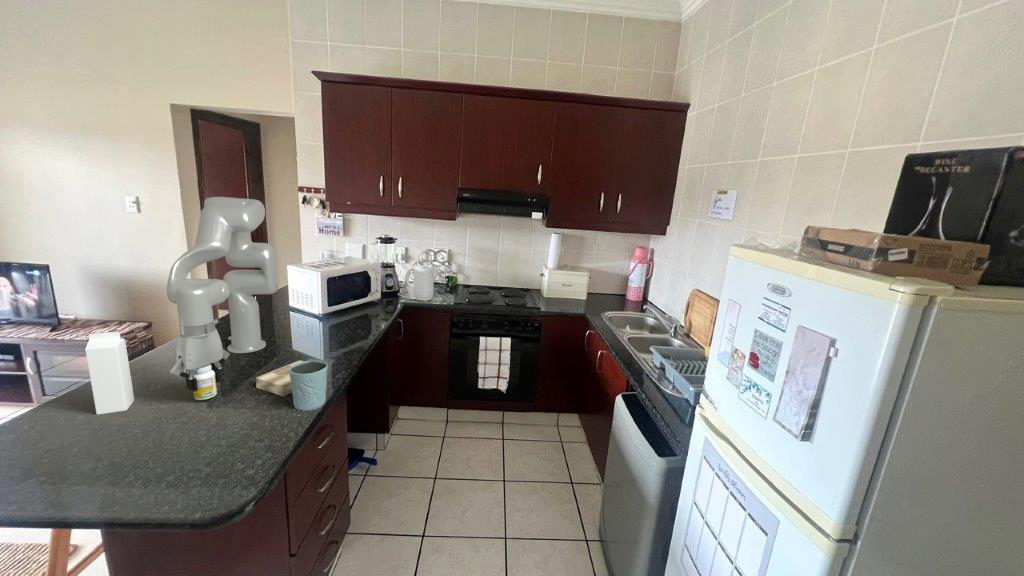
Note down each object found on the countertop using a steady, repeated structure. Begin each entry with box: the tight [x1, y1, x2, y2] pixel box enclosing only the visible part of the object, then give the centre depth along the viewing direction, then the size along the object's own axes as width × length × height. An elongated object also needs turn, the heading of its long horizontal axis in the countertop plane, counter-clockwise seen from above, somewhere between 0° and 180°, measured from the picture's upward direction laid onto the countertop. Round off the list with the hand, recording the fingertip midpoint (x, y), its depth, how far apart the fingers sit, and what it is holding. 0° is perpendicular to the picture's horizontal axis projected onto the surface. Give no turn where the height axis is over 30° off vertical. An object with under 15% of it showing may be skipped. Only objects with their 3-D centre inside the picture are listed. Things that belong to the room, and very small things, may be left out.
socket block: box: [255, 359, 305, 397], centre depth 126 cm, size 12×16×4 cm
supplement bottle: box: [192, 364, 218, 401], centre depth 111 cm, size 5×5×10 cm
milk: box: [84, 331, 135, 415], centre depth 103 cm, size 6×6×22 cm
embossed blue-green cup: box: [289, 359, 329, 412], centre depth 114 cm, size 10×10×12 cm
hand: (204, 384), depth 112 cm, fingers closed on supplement bottle, 5 cm apart
